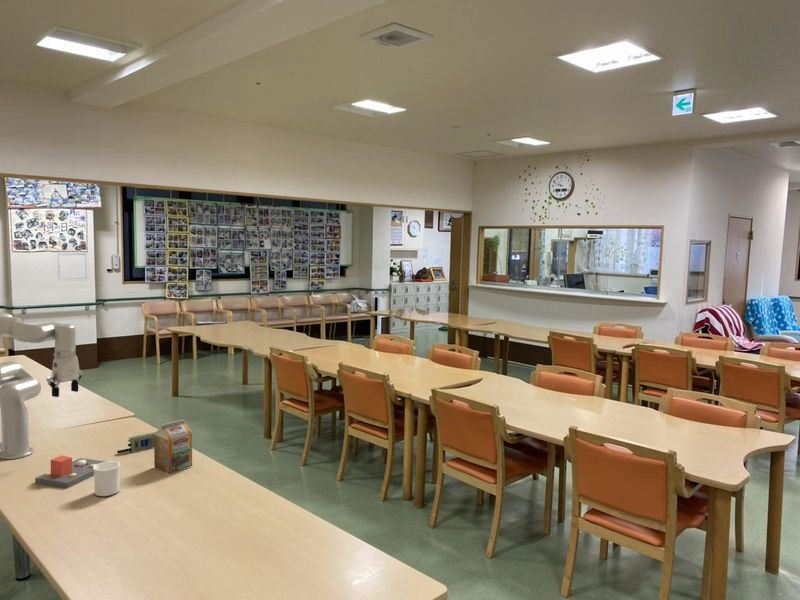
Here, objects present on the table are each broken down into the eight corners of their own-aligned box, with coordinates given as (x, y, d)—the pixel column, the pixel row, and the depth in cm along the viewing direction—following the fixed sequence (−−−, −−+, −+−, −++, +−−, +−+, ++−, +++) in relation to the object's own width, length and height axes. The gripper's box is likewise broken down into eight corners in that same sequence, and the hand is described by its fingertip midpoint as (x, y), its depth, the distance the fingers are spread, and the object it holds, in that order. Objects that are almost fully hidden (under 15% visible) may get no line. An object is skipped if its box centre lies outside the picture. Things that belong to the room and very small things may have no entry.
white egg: (74, 466, 231) (74, 462, 231) (81, 464, 234) (81, 459, 234) (81, 467, 230) (81, 463, 230) (87, 465, 233) (87, 460, 233)
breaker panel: (35, 482, 218) (35, 476, 218) (80, 462, 240) (80, 456, 239) (67, 488, 215) (67, 481, 215) (111, 467, 236) (111, 460, 236)
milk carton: (168, 474, 231) (168, 427, 229) (154, 467, 237) (154, 422, 235) (192, 466, 239) (192, 422, 237) (177, 460, 245) (177, 416, 244)
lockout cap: (50, 474, 221) (50, 459, 220) (61, 470, 226) (61, 455, 225) (61, 477, 220) (61, 461, 219) (71, 472, 224) (72, 457, 224)
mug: (109, 499, 206) (109, 471, 206) (87, 496, 208) (87, 469, 207) (129, 487, 217) (129, 460, 216) (108, 484, 219) (108, 458, 218)
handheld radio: (175, 443, 267) (119, 456, 249) (172, 442, 269) (116, 454, 251) (175, 429, 266) (118, 440, 248) (172, 428, 269) (115, 439, 251)
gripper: (54, 358, 232) (54, 399, 233) (88, 351, 248) (88, 390, 250) (40, 356, 234) (40, 397, 235) (74, 349, 250) (75, 388, 252)
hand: (65, 393), depth 242 cm, fingers open, 9 cm apart
